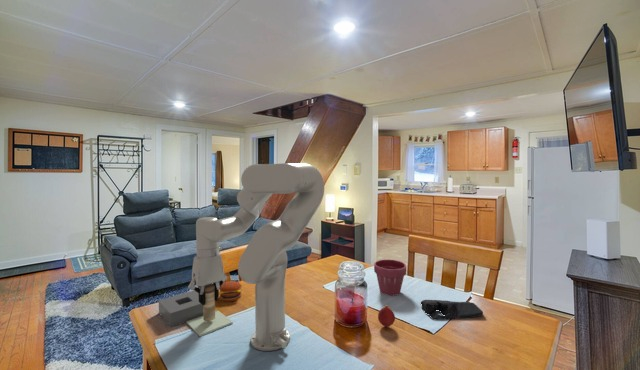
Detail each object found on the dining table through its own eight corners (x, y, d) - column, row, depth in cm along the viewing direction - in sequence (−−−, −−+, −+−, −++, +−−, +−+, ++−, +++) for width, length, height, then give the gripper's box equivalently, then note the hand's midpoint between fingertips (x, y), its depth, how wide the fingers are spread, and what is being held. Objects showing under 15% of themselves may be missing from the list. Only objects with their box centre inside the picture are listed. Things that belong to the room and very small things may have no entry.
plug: (217, 318, 107) (216, 285, 106) (206, 322, 104) (205, 289, 103) (212, 314, 110) (211, 282, 109) (201, 317, 107) (200, 285, 106)
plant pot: (367, 290, 135) (367, 263, 135) (385, 282, 145) (386, 257, 144) (394, 301, 125) (394, 271, 124) (411, 292, 134) (412, 264, 133)
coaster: (232, 323, 107) (232, 321, 107) (199, 336, 99) (199, 334, 99) (218, 311, 116) (218, 310, 116) (186, 323, 107) (186, 321, 107)
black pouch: (489, 322, 109) (489, 309, 109) (428, 321, 110) (429, 308, 109) (469, 303, 124) (469, 292, 124) (416, 302, 125) (416, 291, 125)
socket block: (209, 313, 114) (209, 301, 114) (170, 327, 105) (170, 313, 104) (195, 301, 124) (195, 290, 124) (158, 313, 115) (158, 300, 114)
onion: (382, 332, 101) (382, 310, 101) (375, 324, 107) (375, 302, 106) (397, 330, 103) (398, 307, 102) (389, 321, 108) (389, 300, 108)
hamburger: (219, 294, 132) (219, 279, 132) (241, 291, 135) (241, 277, 134) (218, 303, 123) (218, 287, 123) (242, 300, 126) (242, 285, 125)
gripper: (225, 245, 114) (225, 291, 115) (179, 254, 103) (181, 305, 104) (234, 249, 109) (235, 298, 110) (187, 259, 97) (189, 313, 98)
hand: (208, 301), depth 107 cm, fingers closed on plug, 4 cm apart
